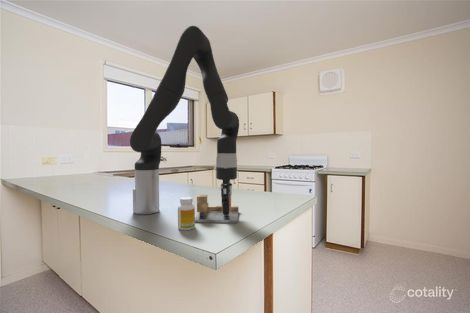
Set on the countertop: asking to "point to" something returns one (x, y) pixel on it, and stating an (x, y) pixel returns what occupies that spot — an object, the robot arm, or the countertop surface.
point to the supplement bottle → (186, 214)
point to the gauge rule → (203, 206)
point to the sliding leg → (229, 205)
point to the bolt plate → (217, 217)
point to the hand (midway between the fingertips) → (226, 212)
